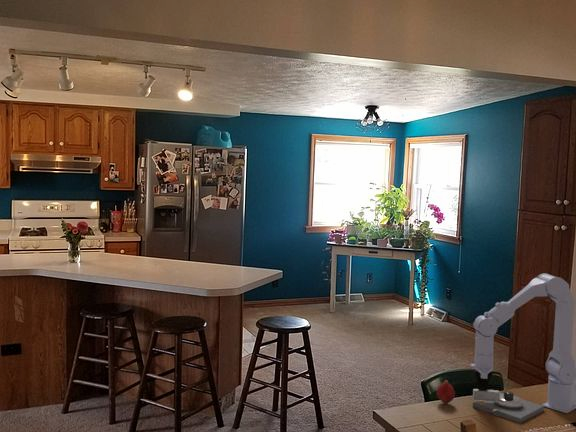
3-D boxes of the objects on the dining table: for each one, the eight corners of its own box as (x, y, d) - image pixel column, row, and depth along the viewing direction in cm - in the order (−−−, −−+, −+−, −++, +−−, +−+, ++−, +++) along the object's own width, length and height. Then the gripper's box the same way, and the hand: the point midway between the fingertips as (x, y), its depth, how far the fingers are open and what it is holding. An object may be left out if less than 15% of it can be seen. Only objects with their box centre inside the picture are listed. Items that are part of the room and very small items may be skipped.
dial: (518, 399, 181) (519, 388, 181) (526, 409, 172) (527, 398, 172) (470, 396, 183) (471, 385, 183) (476, 406, 174) (476, 394, 174)
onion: (432, 401, 182) (433, 378, 182) (447, 399, 184) (448, 376, 183) (442, 408, 176) (443, 383, 176) (458, 406, 178) (458, 382, 178)
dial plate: (543, 410, 176) (544, 405, 176) (517, 424, 165) (517, 418, 165) (497, 395, 188) (497, 391, 188) (470, 407, 177) (470, 402, 177)
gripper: (471, 345, 187) (469, 384, 188) (471, 357, 173) (469, 399, 174) (492, 348, 185) (491, 387, 186) (495, 360, 171) (493, 402, 172)
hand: (482, 393), depth 180 cm, fingers closed, pressing on dial
